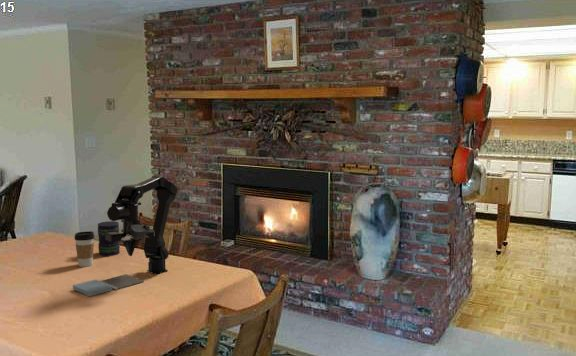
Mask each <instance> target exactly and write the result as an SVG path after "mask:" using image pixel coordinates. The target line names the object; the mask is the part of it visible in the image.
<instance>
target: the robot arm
mask: <svg viewBox="0 0 576 356" xmlns="http://www.w3.org/2000/svg"><path fill="white" fill-rule="evenodd" d="M153 190H154V191H155V192H156V198H157V200H158V203H157V208H156V212H155V217H154V220H153V226H152V228H150V227H151V226H150V225H149V224H143V225H141V221H140V219H139V206H141V205H142V203H141V202H140V199H142V198H143V196H144V194H146V193H148V192H150V191H153ZM177 194H178V187H177V186H176V184H174V183H173V182H171V181H169V180H167V179H166V178H165V177H164V176H162V175H153V176H151V177H150V178H148V179H146V180H144V181H141V182H138V183H137V184H136V183H135V184H126V185H123V186H122V187H121V188H120V190H119V192H118V195H117V197H116V199H115V201H114V202H113V203H111V206H109V207H108V209H107V211H106V212H107V213H106V214H107V217H108V218H107V219H109V220H110V221H113V222H118V221H120V220H121V223H122V229H120V230H121V232H119V233H117V232H109V233H107V234H106V235H105V240H108V241H110V242H117V241H119V242H120V241H121V242H122V244H123V246H124V248H125V249H126V252H127V254H128V256H130V257H132V256H133V254H134V252H135V248H136V246H137V244H138V242H140V241H142V239H144V244H143V253H144V255H145V258H146V259H148V264H147V265H148V269H147V271H146V272H148V273H150V274H154V275H159V274H162V273H167V272H168V270H169V269H167V268H166V260H167V259H168V258H169V257H170V256H169V255H170V252H169V251H168V250H167V248H166V242H165V239H164V233H165V228H166V223H167V220H168V215H169V212H170V211H169V210H170V205H171V204H172V203H173V202H174V201H175V200H176V197H177Z"/></svg>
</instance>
